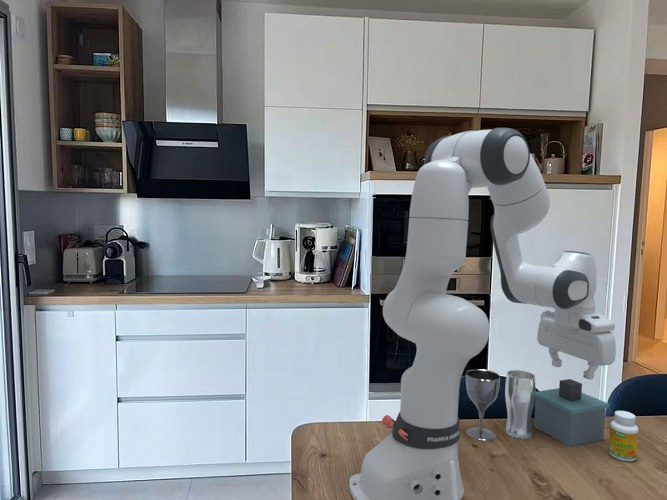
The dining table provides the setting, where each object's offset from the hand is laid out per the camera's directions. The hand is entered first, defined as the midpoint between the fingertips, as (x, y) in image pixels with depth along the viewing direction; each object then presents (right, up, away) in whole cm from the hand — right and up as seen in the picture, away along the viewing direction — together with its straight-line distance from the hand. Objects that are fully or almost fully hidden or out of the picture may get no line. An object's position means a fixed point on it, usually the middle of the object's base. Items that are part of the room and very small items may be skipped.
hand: (572, 372), depth 117 cm
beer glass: (-13, -16, 0) cm, 20 cm away
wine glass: (-23, -15, 0) cm, 27 cm away
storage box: (-1, -15, +1) cm, 15 cm away
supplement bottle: (+6, -17, -10) cm, 20 cm away
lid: (0, -7, 0) cm, 7 cm away
